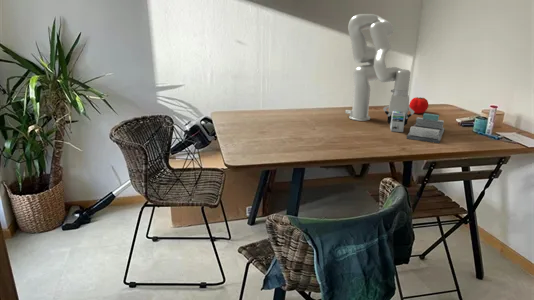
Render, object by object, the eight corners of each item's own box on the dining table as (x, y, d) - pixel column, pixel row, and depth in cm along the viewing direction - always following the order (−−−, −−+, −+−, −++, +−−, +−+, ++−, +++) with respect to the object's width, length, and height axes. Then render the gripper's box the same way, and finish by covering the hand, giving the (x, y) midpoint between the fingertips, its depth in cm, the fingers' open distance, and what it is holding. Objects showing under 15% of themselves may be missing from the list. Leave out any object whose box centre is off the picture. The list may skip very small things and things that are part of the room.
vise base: (406, 138, 221) (407, 127, 219) (414, 126, 242) (415, 116, 240) (439, 143, 215) (441, 132, 213) (444, 130, 236) (445, 120, 234)
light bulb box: (403, 132, 231) (405, 113, 228) (390, 131, 233) (392, 112, 229) (401, 127, 241) (404, 108, 238) (389, 126, 242) (391, 107, 239)
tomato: (403, 111, 274) (405, 96, 270) (418, 110, 279) (420, 94, 276) (416, 116, 264) (419, 99, 261) (431, 114, 270) (434, 98, 266)
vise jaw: (415, 125, 238) (416, 114, 236) (417, 122, 243) (418, 112, 241) (442, 128, 233) (443, 118, 231) (443, 126, 238) (444, 115, 236)
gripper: (383, 92, 230) (379, 123, 236) (416, 95, 223) (412, 128, 229) (385, 89, 237) (382, 120, 243) (418, 93, 229) (414, 124, 235)
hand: (396, 124), depth 236 cm, fingers open, 7 cm apart
